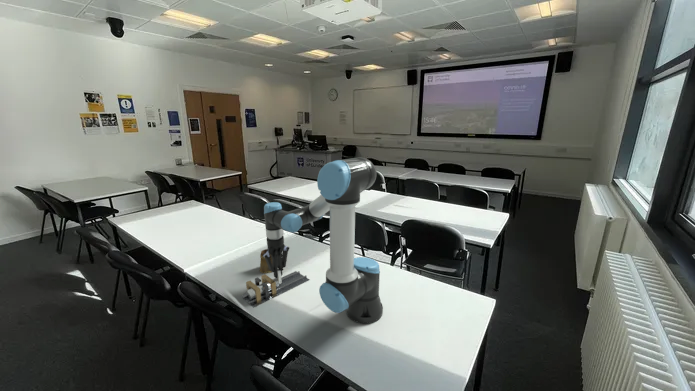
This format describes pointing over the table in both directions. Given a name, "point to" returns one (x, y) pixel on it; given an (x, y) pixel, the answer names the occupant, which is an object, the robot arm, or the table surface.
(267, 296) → the aperture bridge
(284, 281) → the dark grey base rail
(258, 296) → the collar
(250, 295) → the tube
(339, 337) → the table surface
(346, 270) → the robot arm
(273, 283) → the collar
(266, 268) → the wooden mug
